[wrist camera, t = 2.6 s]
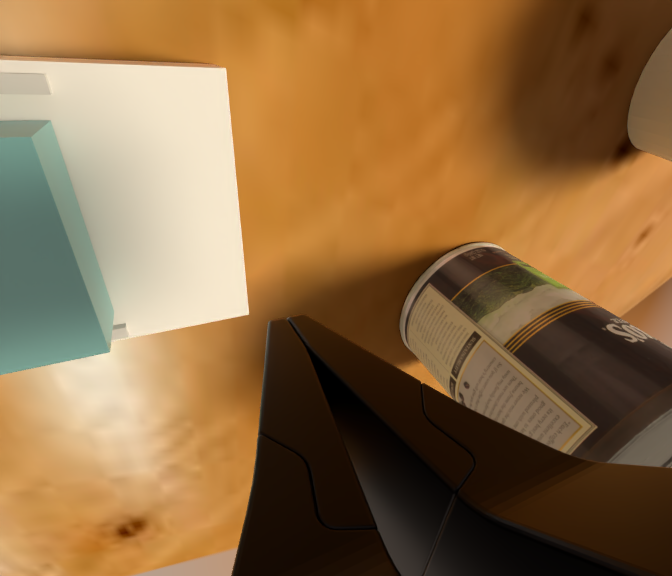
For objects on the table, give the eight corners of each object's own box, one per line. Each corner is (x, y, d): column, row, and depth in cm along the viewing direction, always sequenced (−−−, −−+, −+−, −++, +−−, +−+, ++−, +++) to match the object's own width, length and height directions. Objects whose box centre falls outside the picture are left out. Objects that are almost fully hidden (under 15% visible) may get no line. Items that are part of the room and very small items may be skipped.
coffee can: (470, 213, 24) (735, 352, 13) (529, 277, 30) (740, 407, 20) (370, 332, 26) (531, 537, 15) (445, 369, 32) (595, 532, 22)
